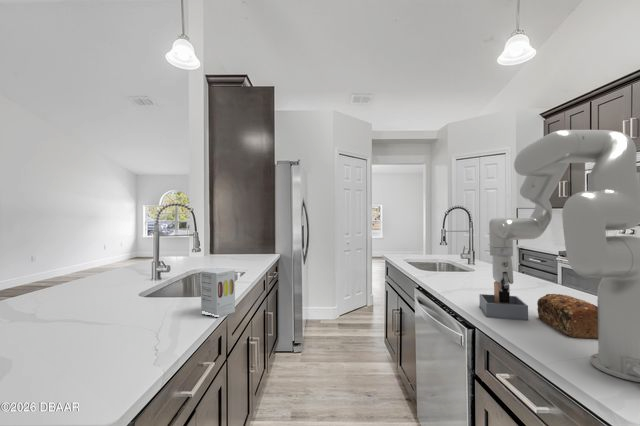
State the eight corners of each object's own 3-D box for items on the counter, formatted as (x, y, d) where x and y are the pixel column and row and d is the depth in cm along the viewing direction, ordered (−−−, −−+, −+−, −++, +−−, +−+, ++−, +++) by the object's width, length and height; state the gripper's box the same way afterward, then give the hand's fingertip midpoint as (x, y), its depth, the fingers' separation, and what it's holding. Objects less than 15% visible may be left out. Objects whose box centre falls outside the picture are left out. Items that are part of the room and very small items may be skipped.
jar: (511, 306, 113) (511, 284, 113) (496, 305, 114) (495, 283, 114) (507, 302, 118) (507, 281, 118) (493, 302, 119) (492, 281, 119)
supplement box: (216, 318, 115) (215, 273, 115) (200, 314, 120) (199, 271, 120) (236, 311, 123) (235, 269, 124) (220, 308, 128) (219, 267, 128)
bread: (608, 340, 91) (607, 306, 91) (567, 338, 93) (566, 305, 93) (569, 319, 109) (569, 290, 109) (535, 317, 111) (535, 289, 111)
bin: (528, 320, 108) (528, 305, 108) (486, 317, 112) (486, 303, 112) (516, 309, 120) (516, 296, 120) (479, 306, 124) (479, 294, 124)
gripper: (519, 254, 107) (520, 307, 107) (506, 249, 123) (507, 295, 123) (495, 254, 109) (496, 306, 109) (485, 248, 125) (486, 294, 125)
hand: (502, 299), depth 116 cm, fingers open, 5 cm apart
